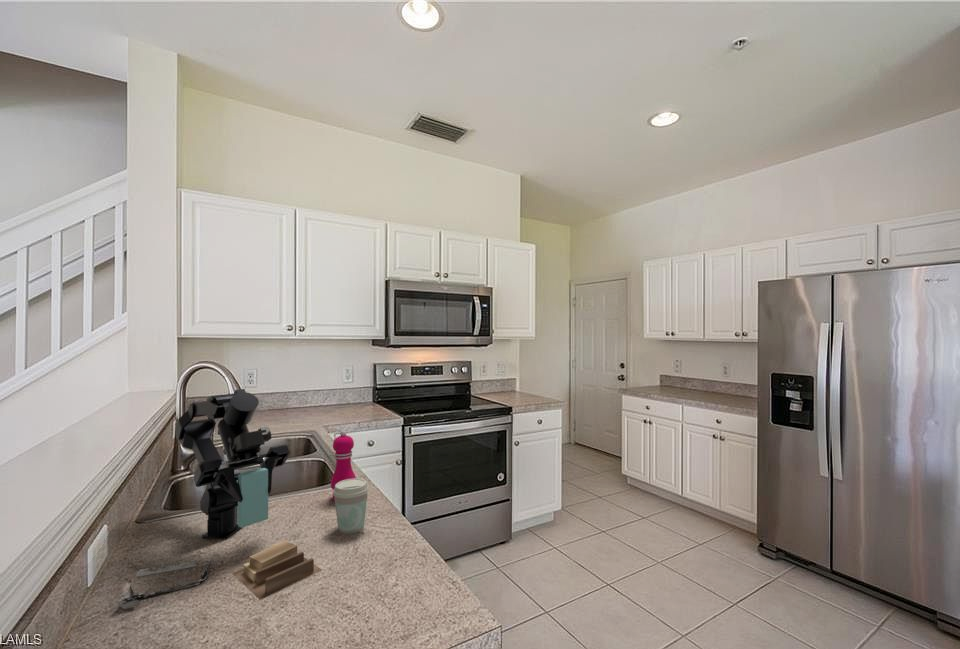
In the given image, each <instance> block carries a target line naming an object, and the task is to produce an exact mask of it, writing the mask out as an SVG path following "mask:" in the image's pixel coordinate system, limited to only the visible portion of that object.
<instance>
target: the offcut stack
mask: <svg viewBox="0 0 960 649" xmlns="http://www.w3.org/2000/svg"><path fill="white" fill-rule="evenodd" d="M297 553H298V545H297V544H294V543H292V542H290V541H287V540H283V541H280V542H279V543H277V544H274V545H272V546H270V547H267V548H266V549H263V550H261V551H259V552H257V553H254V554H253V555H250V556H249V562H246V563H244V564H243V569H244V573H245V574H246V575H247V576H248V577H249V578H250V579H251V580H252V581H253V582H255V581H256V571H257V570H260V569H262V568H264V567H267V566H269V565H272V564H274V563H276V562H279V561H281V560H283V559H286V558H288V557H290V556H293V555H295V554H297Z"/></svg>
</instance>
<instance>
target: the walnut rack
mask: <svg viewBox="0 0 960 649" xmlns="http://www.w3.org/2000/svg"><path fill="white" fill-rule="evenodd" d="M322 571H323V569H322V568H320V567H319V566H317V564H315V559H314V558H312V557H311V558H309V559H307V558H306V557H305V553H304V551H300V552H297V554H295V555H293V556H290V557H288V558H286V559H283V560H281V561H279V562H276V563H274V564H272V565H269V566H267V567H264V568H262V569H260V570H257V571H256V581H255V582H253V581H252V580H251V579H250V578H249V577H248V576H247V575H246V574H245V573H244V568H242V569H240V570H237V571H235V572H232V575H233V576H235V578H236V579H237V580H239V582H240V583H242V584H243V585H244V586H245V587H246V588H247V589H248V590H249V591H250V592H251V593H252V594H253V595H254V596H255V597H256V598H257V599H258V600H260V601H261V600H263V599H265V598H266V597H269V596H271V595H273V594H275V593H278V592H280V591H283V589H286V588H288V587H290V586H291V585H294V584H296V583H298V582H301V581H303V580H305V579H307V578H308V577H311V576H313V575H315V574H317V573H320V572H322Z"/></svg>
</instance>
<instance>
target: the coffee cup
mask: <svg viewBox="0 0 960 649" xmlns="http://www.w3.org/2000/svg"><path fill="white" fill-rule="evenodd" d="M369 487H370V486H369V485H368V482H367V480H366V479H363V478H355V479H347V480H343V481H340V482H338V483H337V484H336V485H335V488H334V490H333V489H332V490H333V492H332V497H333V496H334V498H335V501H334V505H335V506H334V507H335V513H336V514H335V515H336V524H337V531H338V532H339V533H340V534H345V535H350V534H356V533H360V534H363V533H364V530H365V523H366V522H365V521H366V513H367V512H366V511H367V510H366V509H367V504H368V503H367V502H368V493H369V491H370V488H369Z"/></svg>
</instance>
